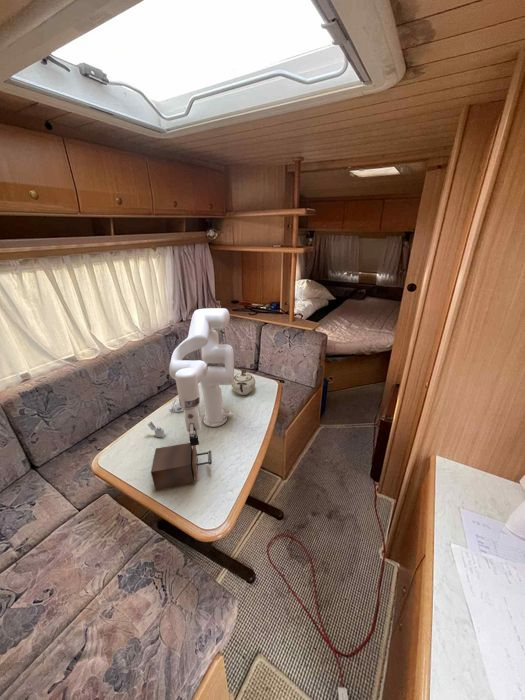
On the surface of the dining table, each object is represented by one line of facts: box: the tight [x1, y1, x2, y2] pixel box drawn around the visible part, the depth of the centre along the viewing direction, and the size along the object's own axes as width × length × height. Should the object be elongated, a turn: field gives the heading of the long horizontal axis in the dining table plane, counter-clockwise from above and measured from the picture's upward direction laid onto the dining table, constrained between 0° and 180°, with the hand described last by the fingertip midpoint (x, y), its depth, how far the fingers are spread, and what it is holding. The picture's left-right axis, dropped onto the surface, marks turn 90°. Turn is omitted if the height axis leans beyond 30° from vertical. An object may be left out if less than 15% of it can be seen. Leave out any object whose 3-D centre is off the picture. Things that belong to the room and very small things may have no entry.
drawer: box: [191, 445, 213, 481], centre depth 113 cm, size 20×11×8 cm, turn 102°
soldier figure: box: [168, 399, 184, 413], centre depth 156 cm, size 8×5×12 cm
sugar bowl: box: [230, 369, 256, 396], centre depth 169 cm, size 20×15×15 cm
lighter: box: [147, 421, 166, 439], centre depth 135 cm, size 7×2×8 cm, turn 79°
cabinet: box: [150, 442, 195, 492], centre depth 112 cm, size 15×13×10 cm
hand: (195, 436), depth 109 cm, fingers open, 9 cm apart
